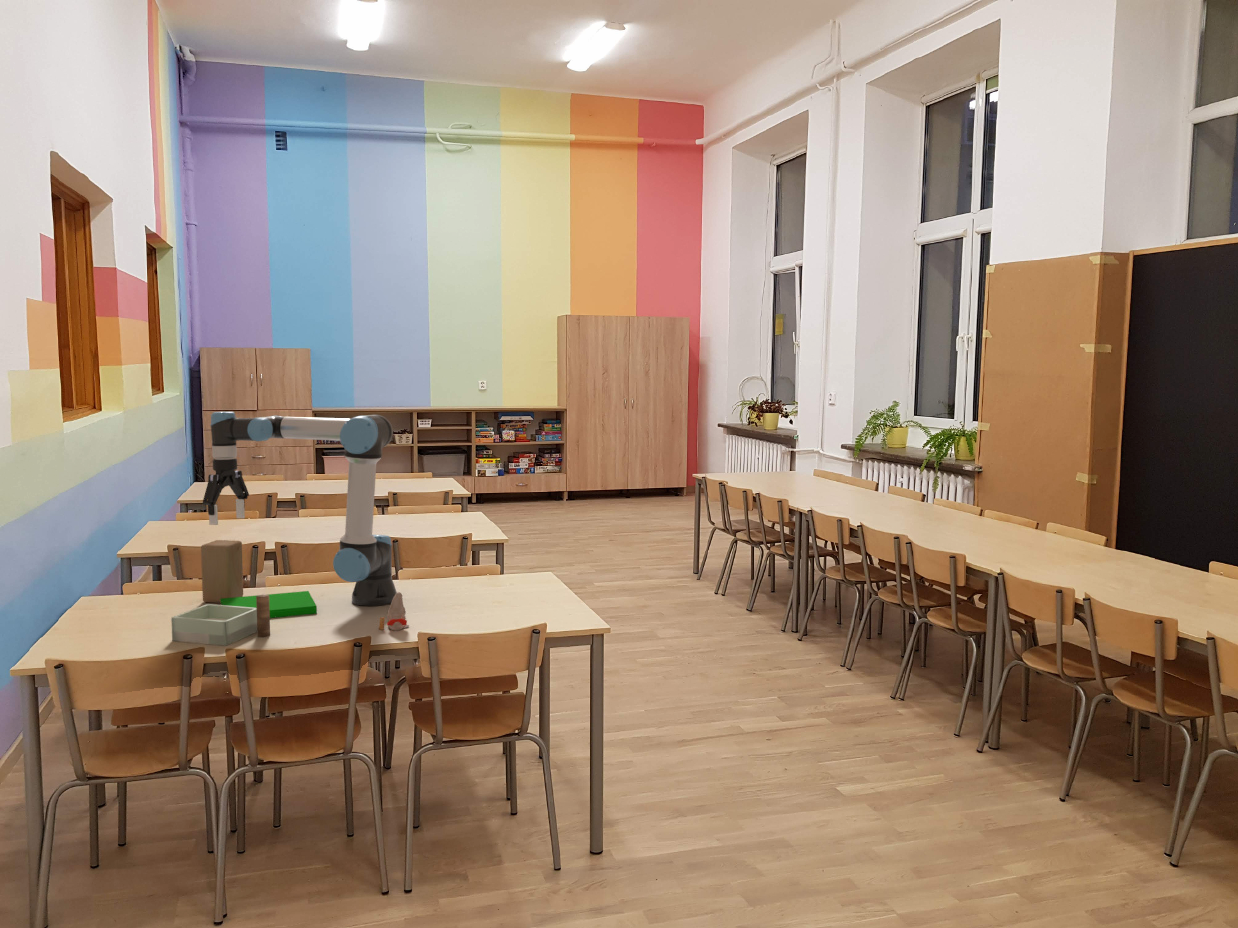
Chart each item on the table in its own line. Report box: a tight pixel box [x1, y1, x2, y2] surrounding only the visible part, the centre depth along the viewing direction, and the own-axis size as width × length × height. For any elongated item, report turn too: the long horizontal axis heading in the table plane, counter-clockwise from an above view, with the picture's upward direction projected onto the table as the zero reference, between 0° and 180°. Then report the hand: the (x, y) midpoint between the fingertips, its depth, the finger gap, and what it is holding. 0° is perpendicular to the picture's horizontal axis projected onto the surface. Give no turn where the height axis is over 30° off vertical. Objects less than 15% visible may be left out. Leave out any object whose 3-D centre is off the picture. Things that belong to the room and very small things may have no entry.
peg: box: [255, 594, 271, 638], centre depth 273 cm, size 4×4×12 cm
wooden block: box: [200, 539, 244, 604], centre depth 313 cm, size 10×10×20 cm
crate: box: [170, 603, 257, 647], centre depth 272 cm, size 18×16×7 cm
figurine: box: [378, 591, 410, 631], centre depth 282 cm, size 9×7×12 cm
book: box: [220, 590, 318, 619], centre depth 302 cm, size 22×28×3 cm
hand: (227, 521), depth 306 cm, fingers open, 13 cm apart
